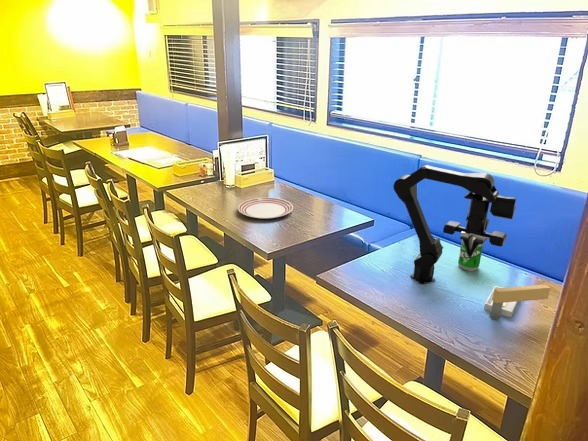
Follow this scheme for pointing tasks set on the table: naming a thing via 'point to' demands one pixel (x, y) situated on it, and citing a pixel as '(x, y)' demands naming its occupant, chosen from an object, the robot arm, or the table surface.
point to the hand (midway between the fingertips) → (470, 256)
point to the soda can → (472, 261)
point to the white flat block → (506, 308)
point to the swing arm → (516, 296)
